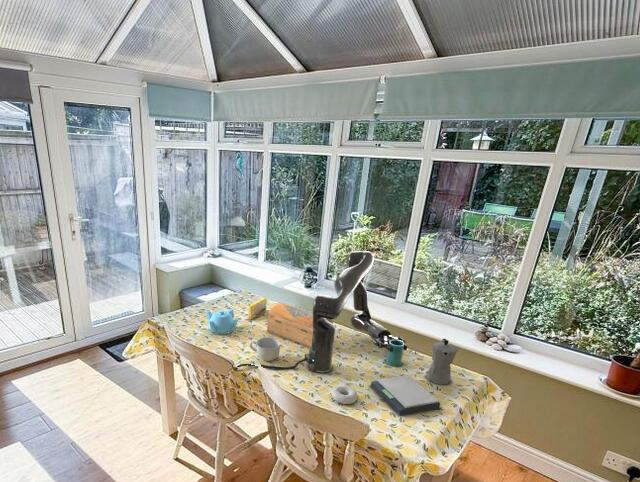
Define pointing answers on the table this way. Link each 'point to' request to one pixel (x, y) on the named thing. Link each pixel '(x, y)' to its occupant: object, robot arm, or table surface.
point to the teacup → (266, 348)
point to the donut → (344, 399)
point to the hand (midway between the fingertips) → (399, 349)
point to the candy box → (257, 308)
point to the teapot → (222, 321)
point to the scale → (405, 395)
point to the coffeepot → (441, 362)
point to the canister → (395, 353)
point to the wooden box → (291, 323)
